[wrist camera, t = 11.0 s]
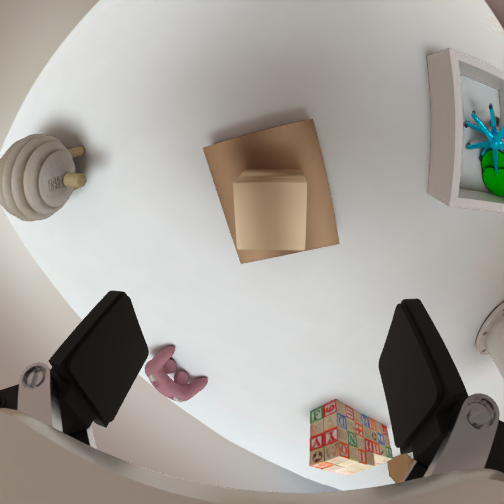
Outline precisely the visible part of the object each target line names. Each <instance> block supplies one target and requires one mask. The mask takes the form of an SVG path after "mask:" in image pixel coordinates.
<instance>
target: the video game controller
mask: <svg viewBox="0 0 504 504" xmlns="http://www.w3.org/2000/svg"><path fill="white" fill-rule="evenodd" d="M174 351H175V348H174V347H173V346H169V347H166V348H165V349H163V350H162V351H160V352H159V353H158V354H157V355H156V356H155V357H154V358H153V359H152V360H150V361H149V362H148V363H147V364H146V365H145V373H146V375H147V376H148V378H149V380H150V381H151V383H152V384H153V386H154V387H155V388H156V389H157V390H158V391H159V392H160V393H162V394H163V395H165V396H166V397H168V398H170V399H172V400H174V401H178V402H182V401H187V400H189V399H190V398H192V397H193V396H194V395H195V394H197V393H198V392H199V391H201V390H202V389H203V388H204V387H205V386H206V384H207V382H208V380H207V378H206V377H202V378H199V379H197V380H194V381H193V382H191V383H189V384H187V383H188V378H189V377H188V374H187V373H186V372H183V371H177V372H176V373H175V375H174V381H173V380H172V379H171V378H170V377H169V376H168V375H167V374H170V373H173V372H174V371H175V370H176V363H175V362H174V361H173V360H171V359H170V358H171V357H172V355H173V353H174Z"/></svg>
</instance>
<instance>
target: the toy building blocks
mask: <svg viewBox="0 0 504 504" xmlns="http://www.w3.org/2000/svg"><path fill="white" fill-rule="evenodd" d="M413 462H414V459H411V458H410V457H409V456H408V455H407V454H401V455H398V456H396V457H393V459H391V460H389V461H387V463H388V470H389V476H390V477H391V478H392V479H393V480H394V481H395V483H400V482H401V480H402V479H403V477H404V476H405V474H406V473H407V471H408V470H409V468H410V466H411V465H412V463H413Z"/></svg>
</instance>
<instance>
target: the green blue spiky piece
mask: <svg viewBox="0 0 504 504" xmlns="http://www.w3.org/2000/svg"><path fill="white" fill-rule="evenodd" d="M489 109H490V115H491V125H492V127H491V131H490V130H488V129H487V128H486V127H485V125H484V124H483V123H482V122H481V121H480V120H479V118H478V117H477V116H476V115H475V111H472V117H473V118H474V120H475V121H476V122H477V124H478V125H479V126H477V125H474V124H472V123H469V122H466V123H465V127H466V128H467V127H468V126H469V127H471V128H473V129H475V130H477V131H479V132H481V133H483V134H485V135H486V136H487V137H488V139H489V140H487V141H483V142H479V143H475V144H470V143H468V145H467V149H476V148H484V147H485V148H484V150H483V152H482V153H481V155H480V160H481V161H482V167H483V170H484V172H483V181H484V183H485V185H486V187H487V188H488V189H489V190H490V191H491V192H492V193H493V194H495V195H496V196H499V197H501V196H504V144H503V142H502V141H501V139H503V138H504V125H503V126H502V127H501V129H500V128H499V121H500V120H499V118H498V117H495V115H494V110H493V106H492V104H491V103H490V104H489ZM491 147H492V149H490V148H491ZM499 149H502V151H503V152H502V151H501V150H499Z"/></svg>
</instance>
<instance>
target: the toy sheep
mask: <svg viewBox="0 0 504 504" xmlns="http://www.w3.org/2000/svg"><path fill="white" fill-rule="evenodd" d="M83 153H84V148H83V147H82V146H79V147H75V148H71V149H67V148H66V147H65V146H64V145H63V144H62V142H61V141H60V140H58V139H57V138H55V137H53V136H48V135H42V134H33V135H29V136H27V137H25V138H23V139H21V140H19V141H17V142H15V143H14V144H13V145H12V146H11V147H10V148H9V149H8V150H7V151H6V153H5V154H4V155H3V156H2V158H1V159H0V204H1V205H2V206H3V207H4V208H5V209H6V210H7V211H8V212H9V213H10V214H12V215H14V216H16V217H17V218H19V219H21V220H24V221H35V220H43V219H46V218H48V217H50V216H51V215H53V214H54V213H55V212H56V211H58V210H59V209H60V208H62V207H63V205H64V204H65V203H66V201H67V200H68V199H69V197H70V195H71V194H72V191H73V190H75V189H78V188H80V187H83V186H84V185H85V183H86V176H85V175H84V174H83V173H75V172H74V171H75V165H74V162H73V159H72V158H75V157H78V156H81V155H83Z"/></svg>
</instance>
